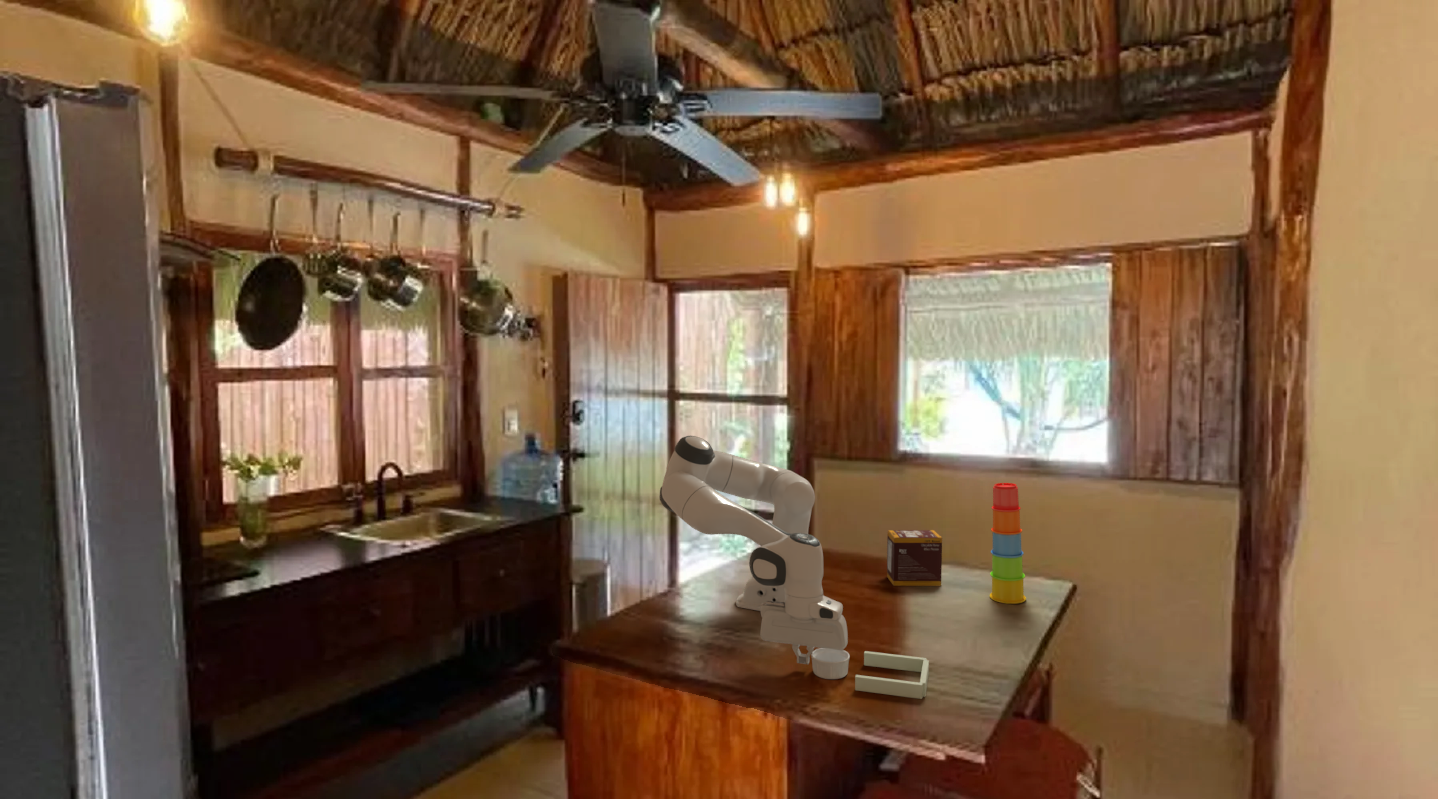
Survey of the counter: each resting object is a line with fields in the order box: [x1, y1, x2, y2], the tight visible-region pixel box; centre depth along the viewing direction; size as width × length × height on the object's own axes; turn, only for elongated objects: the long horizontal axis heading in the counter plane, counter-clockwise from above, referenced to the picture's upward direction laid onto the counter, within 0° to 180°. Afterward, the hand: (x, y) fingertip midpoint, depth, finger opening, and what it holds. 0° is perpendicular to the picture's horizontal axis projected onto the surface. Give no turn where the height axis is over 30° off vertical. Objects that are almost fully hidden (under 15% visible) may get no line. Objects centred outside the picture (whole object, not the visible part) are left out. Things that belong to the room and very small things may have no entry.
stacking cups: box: [989, 482, 1027, 605], centre depth 232 cm, size 10×10×35 cm
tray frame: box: [854, 650, 930, 700], centre depth 176 cm, size 15×15×3 cm
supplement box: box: [886, 529, 943, 587], centre depth 251 cm, size 10×15×16 cm
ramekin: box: [810, 648, 851, 680], centre depth 180 cm, size 9×9×4 cm
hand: (803, 662), depth 182 cm, fingers closed
